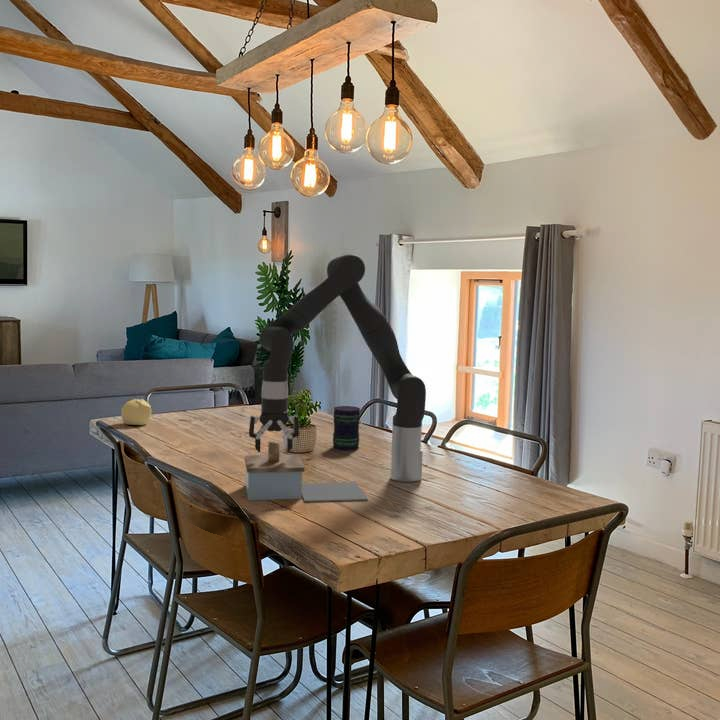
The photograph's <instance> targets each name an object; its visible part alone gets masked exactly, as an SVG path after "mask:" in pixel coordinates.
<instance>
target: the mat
mask: <svg viewBox="0 0 720 720" xmlns="http://www.w3.org/2000/svg"><path fill="white" fill-rule="evenodd" d="M301 498H302V499H303V501H304V503H328V502H334V503H335V502H365V501H367V502H368V500H369V499H368V497H367V496H366V495H365V493H364V491H363V490H362V488H360V486H359V485H358V483H357V482H355V481H354V482H353V481H352V482H351V481H350V482H310V483H309V482H308V483H307V482H304V483H303V482H302V495H301Z"/></svg>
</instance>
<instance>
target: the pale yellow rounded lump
mask: <svg viewBox="0 0 720 720" xmlns="http://www.w3.org/2000/svg"><path fill="white" fill-rule="evenodd" d="M152 411H153V410H152V406H151V405H150V404H149V402H147V401H146V400H145V399H143V398H139V399H138V398H133V399H132V400H129V401H126V403H124V404H123V406H122V408H121V413H120V414H121V416H120V417H121V420H122V422H123V423H124V424H125V425H132V426H145V425H146V424H147V423H148V422H150V420H151V416H152Z"/></svg>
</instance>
